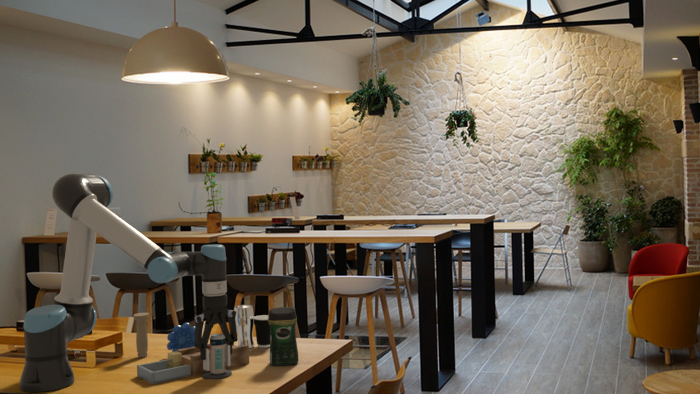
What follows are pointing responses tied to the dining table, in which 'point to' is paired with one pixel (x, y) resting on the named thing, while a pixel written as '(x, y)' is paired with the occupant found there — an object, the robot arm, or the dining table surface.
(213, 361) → the white labelled bottle
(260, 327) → the dixie cup
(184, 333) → the grapes
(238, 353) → the slot board
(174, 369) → the tray
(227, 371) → the coaster
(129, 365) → the dining table surface
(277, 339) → the coffee jar
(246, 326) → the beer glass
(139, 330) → the handle
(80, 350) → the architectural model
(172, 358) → the tan block
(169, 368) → the chip
